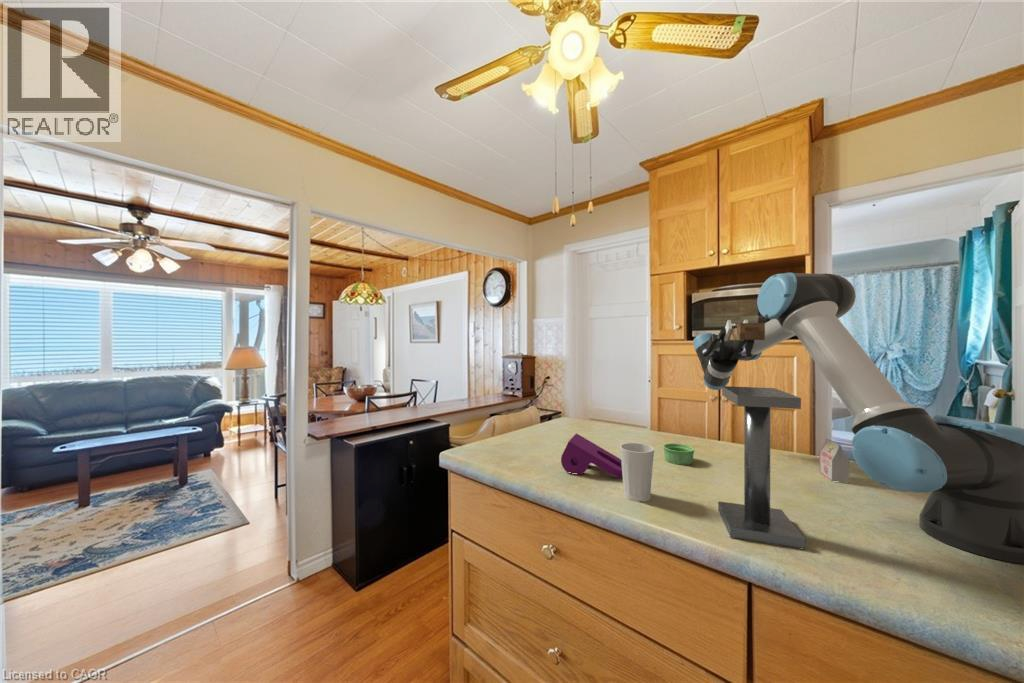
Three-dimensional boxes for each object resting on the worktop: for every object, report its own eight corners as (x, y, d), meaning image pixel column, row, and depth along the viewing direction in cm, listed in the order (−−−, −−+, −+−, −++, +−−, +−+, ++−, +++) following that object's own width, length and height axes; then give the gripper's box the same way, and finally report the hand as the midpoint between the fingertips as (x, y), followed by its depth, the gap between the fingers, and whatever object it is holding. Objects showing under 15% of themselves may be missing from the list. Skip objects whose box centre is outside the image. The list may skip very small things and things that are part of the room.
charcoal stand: (807, 552, 66) (807, 398, 65) (731, 540, 70) (731, 395, 69) (778, 515, 79) (778, 387, 79) (716, 507, 83) (716, 385, 83)
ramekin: (692, 467, 109) (692, 453, 109) (660, 462, 114) (660, 448, 114) (696, 459, 116) (696, 445, 116) (666, 454, 121) (666, 441, 121)
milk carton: (835, 474, 103) (835, 439, 103) (848, 483, 97) (848, 446, 97) (819, 473, 104) (819, 438, 104) (831, 481, 98) (832, 444, 98)
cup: (619, 500, 87) (619, 450, 87) (621, 487, 95) (621, 441, 95) (654, 505, 84) (654, 454, 84) (653, 491, 92) (653, 444, 92)
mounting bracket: (618, 488, 108) (565, 456, 115) (630, 465, 107) (576, 433, 113) (613, 501, 100) (556, 465, 106) (627, 476, 98) (568, 441, 104)
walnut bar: (764, 340, 84) (764, 322, 84) (740, 340, 86) (740, 323, 86) (740, 339, 105) (740, 325, 105) (721, 339, 107) (721, 326, 107)
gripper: (753, 374, 112) (776, 335, 93) (695, 372, 118) (705, 336, 99) (750, 352, 116) (771, 311, 97) (693, 352, 121) (703, 313, 102)
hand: (738, 324), depth 98 cm, fingers closed on walnut bar, 3 cm apart
